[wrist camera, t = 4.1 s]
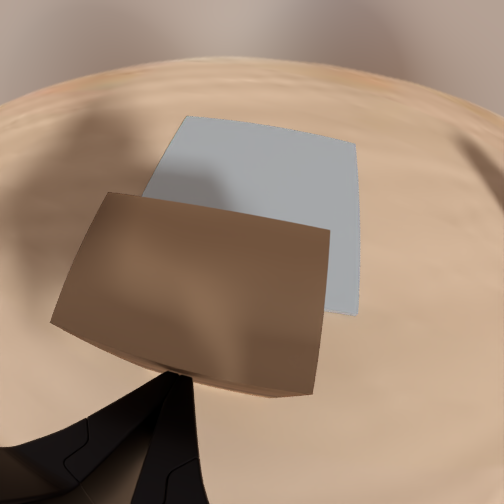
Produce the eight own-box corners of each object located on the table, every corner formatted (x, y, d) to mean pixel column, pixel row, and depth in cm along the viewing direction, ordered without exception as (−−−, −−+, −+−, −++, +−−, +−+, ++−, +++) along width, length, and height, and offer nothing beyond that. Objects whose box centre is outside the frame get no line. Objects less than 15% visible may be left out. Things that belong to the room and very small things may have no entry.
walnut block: (268, 398, 15) (312, 394, 6) (148, 369, 15) (50, 322, 6) (282, 323, 17) (330, 230, 8) (168, 299, 17) (108, 191, 9)
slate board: (355, 316, 17) (357, 313, 17) (112, 266, 18) (110, 263, 18) (354, 146, 25) (355, 143, 25) (187, 119, 26) (186, 116, 25)
